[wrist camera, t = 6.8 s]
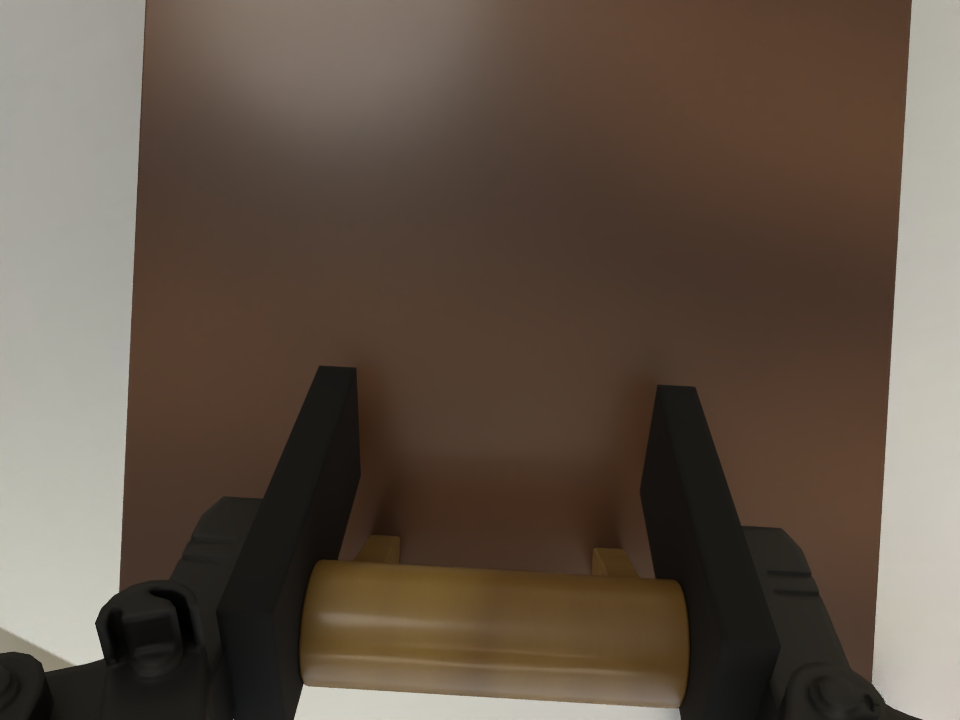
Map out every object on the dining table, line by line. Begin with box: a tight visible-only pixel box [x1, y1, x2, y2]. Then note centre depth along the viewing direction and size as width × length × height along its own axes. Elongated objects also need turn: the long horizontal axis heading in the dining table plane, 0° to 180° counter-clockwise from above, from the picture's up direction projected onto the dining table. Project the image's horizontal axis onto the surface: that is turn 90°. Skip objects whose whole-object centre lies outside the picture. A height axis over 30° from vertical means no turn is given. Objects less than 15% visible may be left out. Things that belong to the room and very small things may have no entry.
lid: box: [119, 0, 912, 709], centre depth 16 cm, size 20×17×7 cm
